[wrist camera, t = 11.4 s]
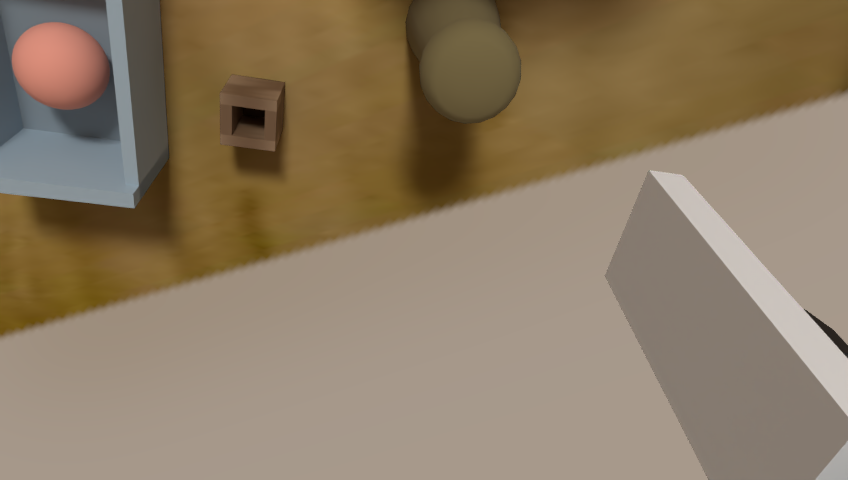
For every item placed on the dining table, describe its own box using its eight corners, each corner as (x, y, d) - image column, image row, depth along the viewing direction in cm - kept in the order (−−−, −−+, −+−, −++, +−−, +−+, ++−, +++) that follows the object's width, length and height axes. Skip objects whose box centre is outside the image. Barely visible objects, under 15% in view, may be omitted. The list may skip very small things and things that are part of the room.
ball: (112, 128, 38) (82, 92, 33) (26, 116, 37) (-17, 78, 32) (127, 57, 39) (101, 12, 34) (44, 44, 38) (6, -3, 34)
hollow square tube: (285, 82, 40) (277, 101, 37) (282, 129, 42) (274, 151, 39) (232, 74, 39) (219, 92, 37) (231, 122, 41) (220, 144, 38)
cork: (455, 90, 41) (475, 162, 32) (386, 31, 39) (386, 90, 29) (519, 20, 39) (561, 76, 29) (450, -47, 36) (472, -10, 27)
